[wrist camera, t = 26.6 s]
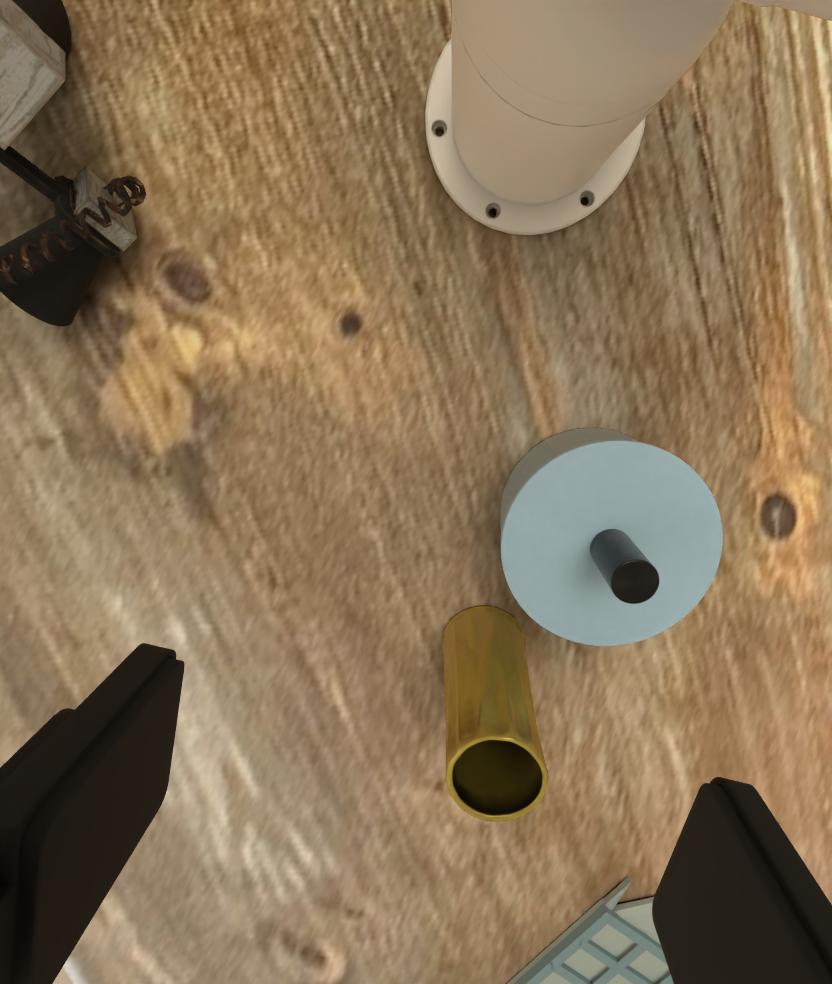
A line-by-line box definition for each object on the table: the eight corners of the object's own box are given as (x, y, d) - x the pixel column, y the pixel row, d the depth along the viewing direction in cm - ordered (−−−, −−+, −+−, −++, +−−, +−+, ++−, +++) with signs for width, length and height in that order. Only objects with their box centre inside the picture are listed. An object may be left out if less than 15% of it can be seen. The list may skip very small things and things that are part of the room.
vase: (474, 588, 44) (484, 706, 30) (542, 635, 45) (582, 771, 31) (425, 650, 46) (413, 789, 32) (492, 694, 46) (508, 849, 32)
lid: (559, 401, 35) (581, 415, 29) (757, 491, 35) (817, 523, 29) (465, 588, 38) (467, 636, 32) (647, 668, 39) (683, 729, 33)
